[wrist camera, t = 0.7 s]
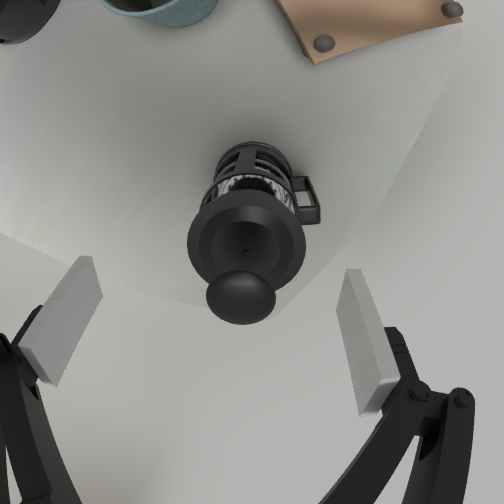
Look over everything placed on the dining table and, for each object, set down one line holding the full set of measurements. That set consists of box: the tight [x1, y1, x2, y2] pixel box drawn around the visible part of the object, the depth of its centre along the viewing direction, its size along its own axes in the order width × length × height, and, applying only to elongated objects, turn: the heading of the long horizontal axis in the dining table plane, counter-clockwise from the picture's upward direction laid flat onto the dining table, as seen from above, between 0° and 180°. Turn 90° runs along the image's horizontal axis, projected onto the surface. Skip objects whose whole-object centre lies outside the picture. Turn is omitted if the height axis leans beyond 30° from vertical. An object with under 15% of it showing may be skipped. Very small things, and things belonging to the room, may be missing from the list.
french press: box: [187, 142, 321, 325], centre depth 28 cm, size 12×9×23 cm
